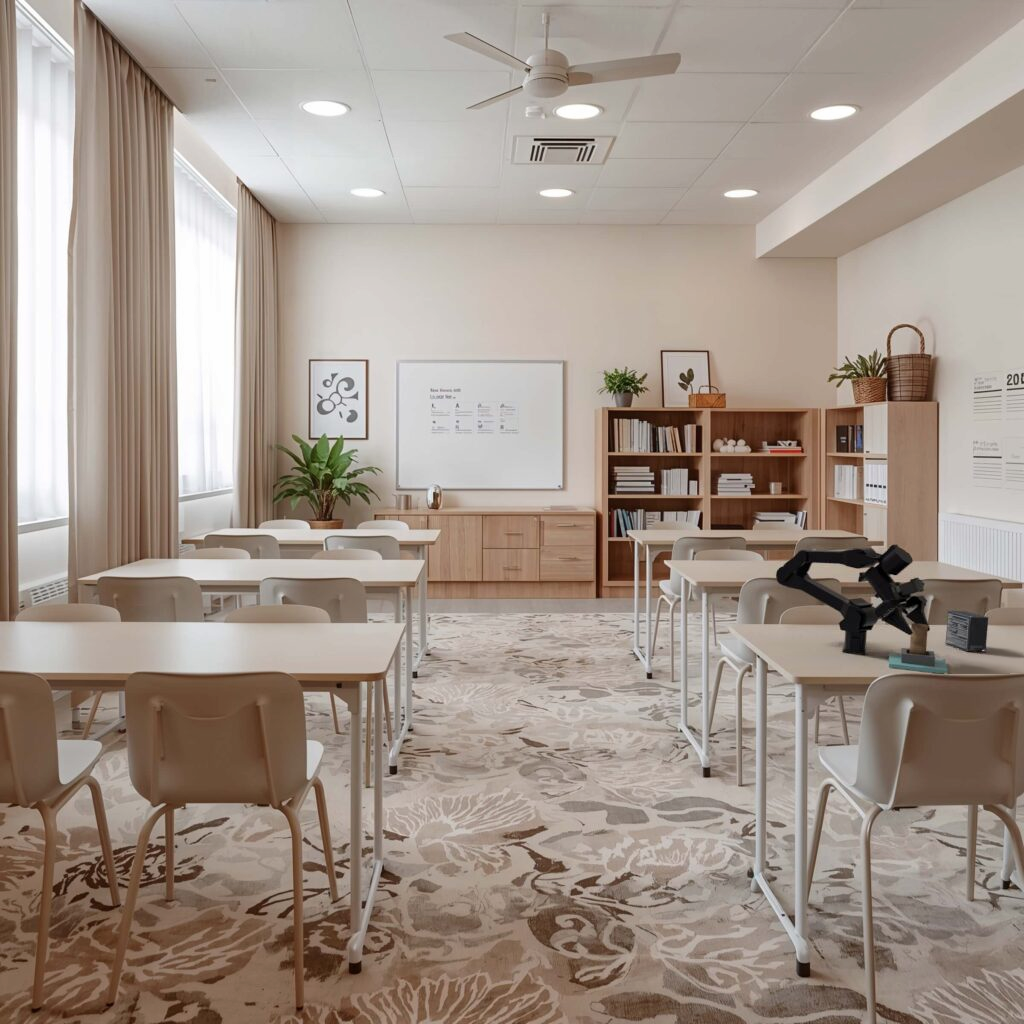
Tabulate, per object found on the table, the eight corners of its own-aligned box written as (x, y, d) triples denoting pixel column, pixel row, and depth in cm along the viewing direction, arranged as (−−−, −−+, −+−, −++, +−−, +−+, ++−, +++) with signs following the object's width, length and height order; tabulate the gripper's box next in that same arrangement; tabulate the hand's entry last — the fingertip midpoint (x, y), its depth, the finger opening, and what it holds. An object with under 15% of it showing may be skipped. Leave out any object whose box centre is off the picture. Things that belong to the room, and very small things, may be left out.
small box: (987, 652, 261) (990, 616, 260) (967, 652, 260) (970, 616, 259) (963, 644, 272) (966, 610, 271) (944, 644, 271) (946, 610, 270)
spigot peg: (915, 659, 244) (917, 623, 243) (928, 662, 240) (931, 625, 239) (905, 660, 242) (908, 624, 241) (919, 664, 238) (921, 626, 237)
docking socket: (888, 657, 250) (889, 644, 250) (944, 663, 245) (945, 650, 244) (888, 667, 237) (889, 654, 237) (947, 674, 232) (948, 661, 231)
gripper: (887, 569, 237) (925, 618, 229) (922, 566, 249) (959, 612, 241) (857, 594, 244) (893, 642, 236) (893, 589, 256) (928, 635, 248)
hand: (920, 632), depth 240 cm, fingers open, 9 cm apart
